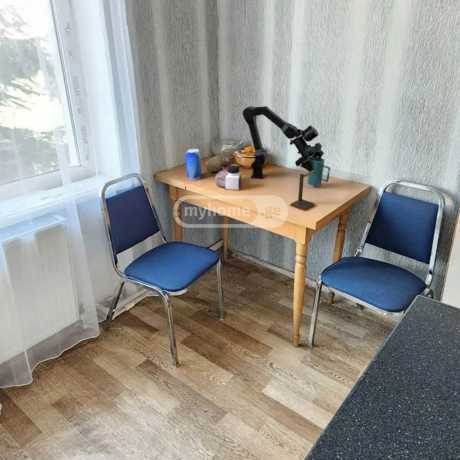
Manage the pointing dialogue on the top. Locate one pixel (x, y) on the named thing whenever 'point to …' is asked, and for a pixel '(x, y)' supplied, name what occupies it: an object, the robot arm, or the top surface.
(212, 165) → the brown rounded lump
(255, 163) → the robot arm
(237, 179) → the medicine bottle
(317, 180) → the mug
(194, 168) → the beer can
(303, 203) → the mug stand
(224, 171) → the food item
